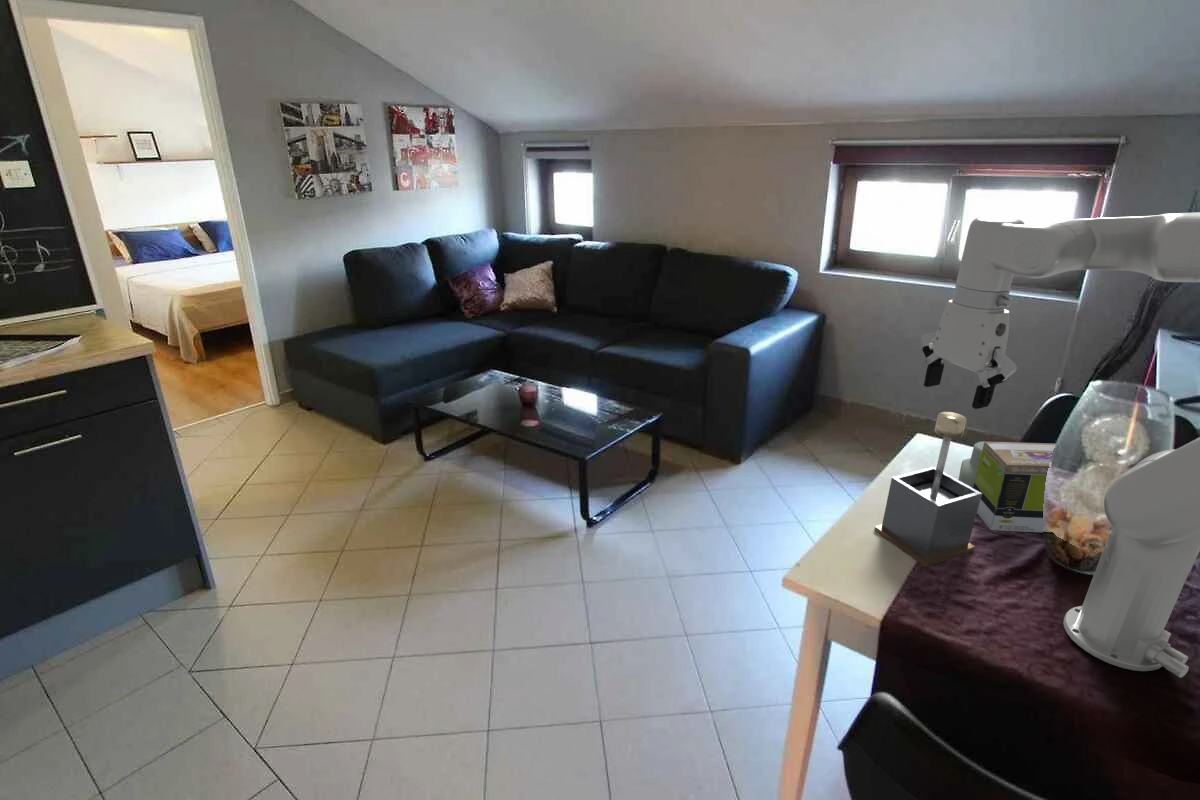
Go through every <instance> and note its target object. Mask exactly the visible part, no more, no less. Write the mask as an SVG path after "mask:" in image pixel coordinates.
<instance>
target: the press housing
mask: <svg viewBox="0 0 1200 800" xmlns="http://www.w3.org/2000/svg"><path fill="white" fill-rule="evenodd" d="M936 467H937V466H930V467H927V468H922V469H918V470H914V471H911V472H907V473H903V474H900V475H896V476H892V477H891V479H890V484H889V490H888V494H887V500H886V503H885V510H884V514H883V518H882V523H881V524H879V525H875V526H874V530H873V531H874V532H875V533H876V534H879V536H881V537H883V538H884V539H885V540H886V541H888V542H890V544H892V545H893V546H895V547H896V548H898V549H899V550H900V551H902V553H905V554H906V555H907V556H908V557H910V558H911V559H913V560H914V561H916V563H919V564H920V565H921V566H923V567H925V568H927V567H930V566H933V565H936V564H939V563H942V562H945V561H947V560H948V561H949V560H951V559H954V558H956V557H959V556H960V557H961V556H963V555H966V554H969V553H972V552H974V551H975V547H976V546H975V545H974V544H973V543H970V539H971V536H972V532H973V528H974V526H975V521H976V517H977V515H978V514H977V511H978V507H979V503H980V500H981V496H982V493H981V492H979V491H977V490H975V489H974V488H972V487H970V486H968V485H966V484H964V483H963V482H961V481H959V479H957V478H956V477H954V476H952V475H950V474H948V473H946V472H944V471H943V475H942V479H941V483H940V488H941V489H943V490H945V491H947V492H948V493H950V494H952V495H954V496H955V497H957V498H954V499H951V500H947V501H944V502H940V503H937V502H936V501H934V500H933V499H931V498H929V497H928V496H926V495H924V494H923V493H921V492H919V491H918V490H916V489H914V488H913V487H917V486H921V485H924V484H928V483H933V480H934V475H935V471H936Z"/></svg>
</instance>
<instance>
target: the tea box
mask: <svg viewBox="0 0 1200 800" xmlns="http://www.w3.org/2000/svg"><path fill="white" fill-rule="evenodd" d="M983 442H984V446H983V449H982V454H981V458H980V462H979V466H978V470H977V474H976V478H975V482H974V486H973V488H974V489H975V490H977V491H979V492H981V493H982V496H981V500H980V503H979V507H978V511H977V514H976V515H978V516H979V517H980V518H981V520H982V522H983V523H984V525H986V526H987V527H988V529H989V530H990V531H1004V532H1021V533H1022V532H1025V533H1028V532H1029V533H1030V532H1031V533H1043V503H1044V491H1045V482H1046V476H1047V471H1048V468H1050V467H1049V463H1050V460H1051V456H1052V453H1053V450H1054V448H1055V446H1056V444H1057V443H1049V442H1048V443H1047V442H1045V443H1043V442H1042V443H1041V442H1012V441H1011V442H1010V441H1007V442H1006V441H1005V442H1004V441H983Z"/></svg>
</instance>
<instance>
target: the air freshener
mask: <svg viewBox="0 0 1200 800" xmlns="http://www.w3.org/2000/svg"><path fill="white" fill-rule="evenodd" d="M984 442H985V441H978V442H975V443H974V445H973V448H972V453H971V456H970V458H966V459H963V460H962V462H961V466H960V469H959V475H958V480H959V481H961V482H963V483H964V484H966V485H968V486H970V487H972V488H973V486H974V482H975V478H976V474H977V470H978V466H979V462H980V458H981V454H982V449H983V446H984Z"/></svg>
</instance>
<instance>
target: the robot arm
mask: <svg viewBox="0 0 1200 800" xmlns="http://www.w3.org/2000/svg"><path fill="white" fill-rule="evenodd" d="M1070 271H1124V272H1125V271H1128V272H1135V273H1142V274H1144V275H1148V277H1151V278H1152V279H1154V280H1157V281H1161V282H1165V283H1200V211H1197V212H1176V213H1175V212H1174V213H1173V212H1172V213H1162V214H1157V215H1146V216H1145V215H1143V216H1141V215H1140V216H1139V215H1138V216H1118V217H1117V216H1115V217H1096V218H1095V217H1094V218H1089V217H1088V218H1074V219H1065V220H1063V219H1062V220H1057V221H1052V222H1046V223H1041V224H1040V223H1039V224H1038V223H1037V224H1025V222H1024V221H1023V220H1021V219H1019V218H1016V217H1011V216H1010V217H1009V216H1000V215H984V216H983V215H982V216H979V217H976V218H974V219H973V220H972V221H971V222H970V225H969V227H968V231H967V235H966V239H965V244H964V247H963V253H962V258H961V261H960V264H959V269H958V273H957V279H956V282H955V287H954V290H953V295H952V299H950V300H948V303H947V305H946V306H945V309H944V311H943V312H942V316H941V318H940V320H939V324H938V327H937V330H936V331H932V332H927V333H923V334H921V336H920V338H921V344H922V346H923V347H922V352H923V355H924V357H925V364H927V367H926V372H925V377H924V382H923V386H924V387H925V388H930V387H934V386H935V387H936V386H939V385H940V384H941V381H942V377H943V373H944V368H945V363H944V362H943V361H946V362H949V363H951V364H953V365H956V366H958V367H961V368H963V369H967V370H969V371H972V372H975V373H976V374H977V376H978V377H977V378H978V379H979V381H980V385H979V384H978V385H977V386H976V389H975V393H974V396H973V401H972V404H971V407H972V408H973V409H975V410H977V409H983V408H987V407H989V405H990V404H991V403H992V399H993V395H994V392H995V388H996V386H999V385H1000V384H1002V383H1005V382H1006V381H1008V380H1009V379H1010V377H1012V375H1013V374H1015V373H1016V371H1018V366H1017V365H1016V363H1015V362H1014V361H1012V359H1011V358H1010V357H1009V356H1008V355H1007V354H1006V349H1007V347H1008V346H1007V344H1008V338H1009V331H1010V310H1008V309H1006V307H1007V308H1010V307H1012V305H1013V304H1014V298H1012V297H1009V296H1010V291H1011V286H1012V283H1013V280H1014V275H1018V276H1021V277H1024V278H1029V279H1044V278H1047V277H1052V276H1055V275H1059V274H1062V273H1065V272H1070ZM1000 368H1001V370H1000V371H999V373H998V372H997V370H999V369H1000ZM1103 508H1104V512H1105V515H1106V518H1107V520H1108V521H1109V522H1110V523H1109V524H1110V525H1112V526H1111V529H1110V532H1109V535H1108V537H1107V539H1106V542H1105V545H1104V546H1103V549H1102V552H1101V555H1100V557H1099V559H1098V563H1097V566H1096V568H1095V570H1094V574H1093V577H1092V579H1091V581H1090V584H1089V587H1088V590H1087V592H1086V596H1085V598H1084V600H1083V603H1082V605H1079V606H1074V607H1072V608H1070V609H1069V610H1068V611H1067V612H1066V613H1065V615H1064V617H1063V628H1064V630H1065V632H1066V634H1067V635H1068V637H1070V639H1071V640H1072V641H1073V642H1074V643H1075V644H1076V645H1077V646H1078V647H1080V648H1081V649H1083V650H1084V651H1085V652H1086V653H1088V654H1090V655H1091V656H1093V657H1095V658H1097V659H1099V660H1101V661H1103V662H1104V663H1108V664H1110V665H1113V666H1115V667H1119V668H1121V669H1126V670H1131V671H1136V672H1137V671H1138V672H1149V671H1155V670H1159V669H1160V668H1162V667H1163V668H1165V670H1167V671H1169V672H1170V673H1171V674H1174V675H1175V676H1176V677H1178V678H1183V677H1184V676H1186V674H1187V673H1188V672H1189V669H1190V667H1189V666H1188V664H1186V663H1187V661H1188V660H1189V656H1188V655H1186V654H1184V653H1183V652H1181V651H1179V650H1177V649H1175V648H1174V647H1171V643H1169V639H1170V637H1172V633H1171V632H1169V631H1168V630H1165V627H1166V625H1167V623H1168V621H1169V618H1170V617H1171V614H1172V611H1173V609H1174V608H1175V605H1176V603H1177V601H1178V598H1179V596H1180V594H1181V592H1182V590H1183V587H1184V585H1185V583H1186V581H1187V579H1188V576H1189V575H1190V572H1191V571H1192V569H1193V566H1194V564H1195V562H1196V559H1197V557H1198V556H1199V553H1200V436H1199V437H1197V438H1196V439H1193V440H1191V441H1190V442H1188V443H1186V444H1184V445H1182V446H1180V447H1178V448H1176V449H1173V448H1172V449H1166V450H1161V451H1159V452H1158V451H1157V452H1155V453H1153V454H1150V455H1149V456H1147V457H1145V458H1144V459H1142V460H1140V461H1139V462H1138V463H1136V464H1135V465H1134V466H1132V467H1131V468H1130V469H1128V470H1127V471H1125V472H1124V473H1123V474H1121V475H1120V476H1118V477H1117V478H1116V479H1115V480H1114V481H1113V482H1112V483H1111V484H1110V485H1109V487H1108V488H1107V490H1106V492H1105V495H1104V501H1103Z"/></svg>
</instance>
